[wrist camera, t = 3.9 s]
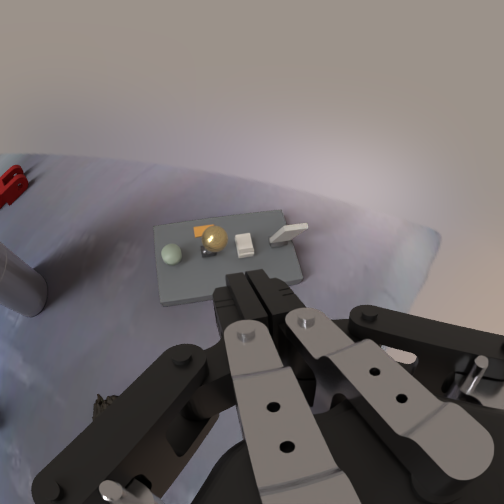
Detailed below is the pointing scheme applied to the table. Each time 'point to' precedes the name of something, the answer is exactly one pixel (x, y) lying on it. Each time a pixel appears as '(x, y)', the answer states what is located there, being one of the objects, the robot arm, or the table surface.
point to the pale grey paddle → (286, 234)
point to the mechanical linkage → (12, 185)
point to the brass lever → (213, 241)
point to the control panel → (220, 256)
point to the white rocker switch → (244, 245)
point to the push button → (171, 254)
